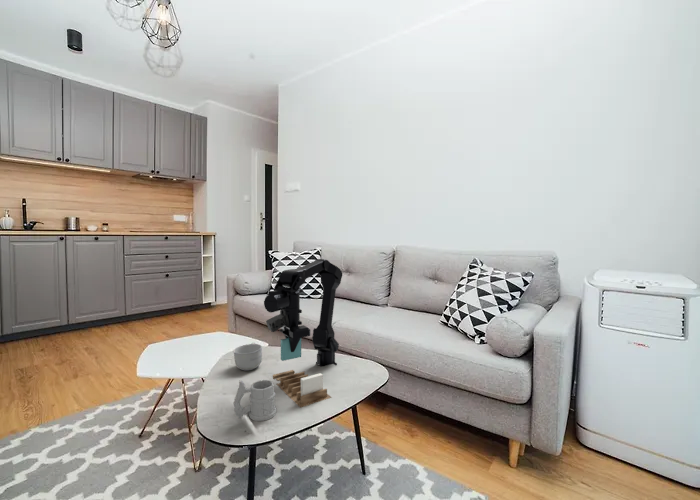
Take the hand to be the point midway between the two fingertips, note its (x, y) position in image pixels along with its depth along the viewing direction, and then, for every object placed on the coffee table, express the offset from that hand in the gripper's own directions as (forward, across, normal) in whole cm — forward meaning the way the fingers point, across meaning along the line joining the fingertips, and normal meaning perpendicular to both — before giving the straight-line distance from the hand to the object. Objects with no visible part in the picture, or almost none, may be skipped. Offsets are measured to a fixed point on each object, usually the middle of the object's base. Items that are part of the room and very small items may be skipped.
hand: (291, 351), depth 118 cm
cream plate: (+11, +14, +1) cm, 18 cm away
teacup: (+12, -25, -8) cm, 29 cm away
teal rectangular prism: (+2, 0, 0) cm, 3 cm away
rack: (+12, +8, +1) cm, 14 cm away
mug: (+13, +14, -17) cm, 26 cm away
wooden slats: (+12, -6, 0) cm, 14 cm away
